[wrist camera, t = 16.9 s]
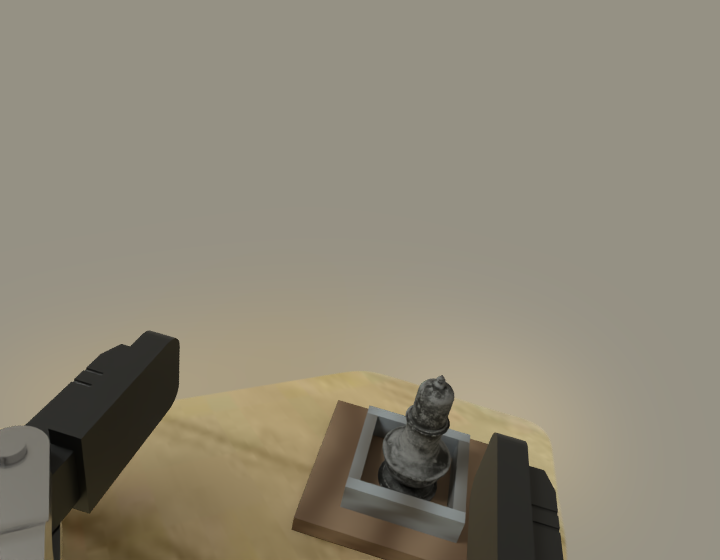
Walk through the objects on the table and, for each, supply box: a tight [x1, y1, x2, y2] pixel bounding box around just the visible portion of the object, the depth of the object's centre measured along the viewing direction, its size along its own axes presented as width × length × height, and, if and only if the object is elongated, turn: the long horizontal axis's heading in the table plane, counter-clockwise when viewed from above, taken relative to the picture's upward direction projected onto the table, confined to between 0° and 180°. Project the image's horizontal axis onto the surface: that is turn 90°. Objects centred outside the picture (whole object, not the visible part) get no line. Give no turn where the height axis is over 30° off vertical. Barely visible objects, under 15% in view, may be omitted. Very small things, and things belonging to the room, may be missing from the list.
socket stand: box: [292, 400, 488, 560], centre depth 48 cm, size 16×14×4 cm
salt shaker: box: [378, 375, 454, 501], centre depth 45 cm, size 6×6×12 cm
